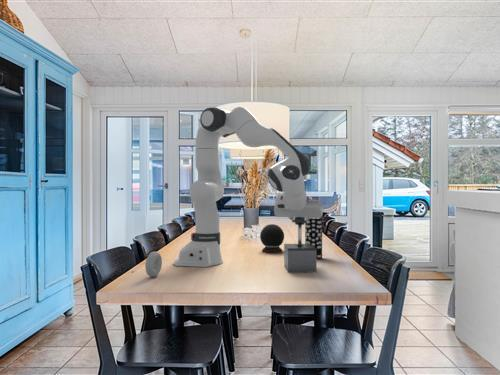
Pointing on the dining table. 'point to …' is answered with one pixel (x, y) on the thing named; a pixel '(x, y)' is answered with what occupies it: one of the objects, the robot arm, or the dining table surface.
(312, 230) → the spotted tube
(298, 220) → the plunger
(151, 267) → the grey thick disc
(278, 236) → the black ball on stand
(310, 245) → the block
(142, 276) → the dining table surface
